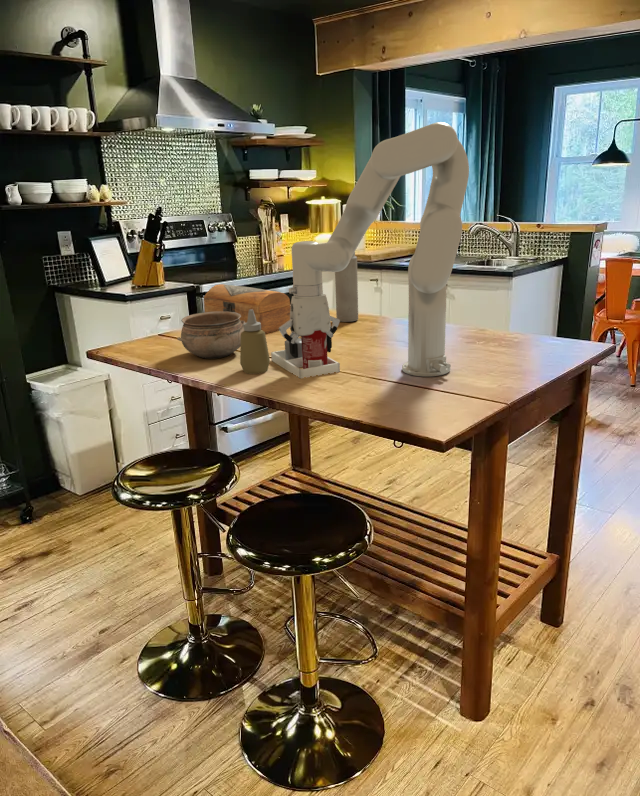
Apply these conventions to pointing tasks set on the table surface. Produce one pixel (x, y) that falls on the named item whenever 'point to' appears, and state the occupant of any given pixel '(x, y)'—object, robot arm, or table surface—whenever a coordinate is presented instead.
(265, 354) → the squeeze bottle
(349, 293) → the thermos bottle
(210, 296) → the wooden box
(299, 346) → the caddy
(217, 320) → the cooking pot
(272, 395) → the table surface
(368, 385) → the table surface
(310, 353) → the soda can
